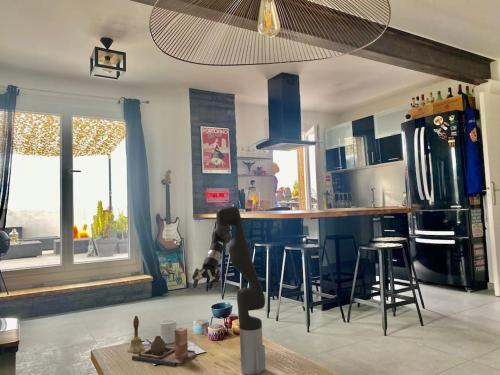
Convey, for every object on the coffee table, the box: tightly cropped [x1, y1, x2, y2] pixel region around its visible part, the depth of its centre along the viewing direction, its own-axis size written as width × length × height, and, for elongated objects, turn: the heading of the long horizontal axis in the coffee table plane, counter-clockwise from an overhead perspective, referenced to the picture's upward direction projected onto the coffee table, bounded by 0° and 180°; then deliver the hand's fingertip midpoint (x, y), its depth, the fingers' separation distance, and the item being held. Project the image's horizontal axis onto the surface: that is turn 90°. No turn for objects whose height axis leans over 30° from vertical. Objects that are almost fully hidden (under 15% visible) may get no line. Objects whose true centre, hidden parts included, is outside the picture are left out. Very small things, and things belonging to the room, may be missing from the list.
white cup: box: [160, 319, 177, 345], centre depth 195 cm, size 8×8×10 cm
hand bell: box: [127, 315, 146, 354], centre depth 185 cm, size 8×8×16 cm
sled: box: [138, 327, 198, 366], centre depth 173 cm, size 23×12×13 cm, turn 64°
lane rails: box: [131, 349, 196, 368], centre depth 173 cm, size 24×15×2 cm, turn 64°
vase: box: [150, 335, 167, 356], centre depth 175 cm, size 7×7×9 cm
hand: (201, 288), depth 188 cm, fingers open, 8 cm apart
